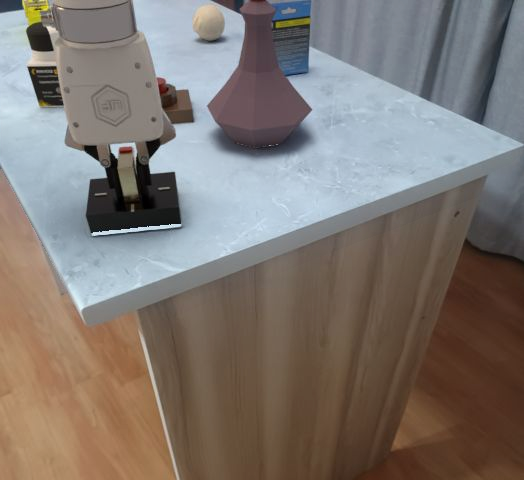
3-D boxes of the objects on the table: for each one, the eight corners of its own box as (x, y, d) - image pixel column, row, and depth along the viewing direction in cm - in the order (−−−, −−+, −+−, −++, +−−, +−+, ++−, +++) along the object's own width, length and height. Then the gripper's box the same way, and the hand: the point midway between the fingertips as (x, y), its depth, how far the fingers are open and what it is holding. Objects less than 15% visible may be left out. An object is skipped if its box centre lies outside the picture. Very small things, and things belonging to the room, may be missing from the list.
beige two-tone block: (139, 201, 63) (132, 164, 59) (124, 202, 63) (116, 165, 59) (140, 181, 66) (133, 145, 63) (125, 182, 66) (118, 146, 63)
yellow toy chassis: (30, 25, 127) (18, -16, 121) (54, 23, 128) (43, -18, 122) (32, 44, 116) (19, 0, 110) (58, 41, 118) (47, -2, 112)
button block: (127, 127, 85) (122, 102, 82) (127, 106, 91) (122, 82, 88) (193, 122, 86) (191, 97, 83) (189, 102, 92) (187, 78, 89)
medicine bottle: (39, 108, 91) (15, 30, 82) (49, 93, 96) (27, 18, 87) (80, 107, 91) (60, 30, 82) (88, 92, 96) (70, 17, 87)
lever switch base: (91, 237, 63) (85, 215, 61) (95, 199, 69) (89, 177, 67) (182, 228, 64) (178, 205, 62) (177, 191, 70) (174, 169, 68)
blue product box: (301, 66, 105) (304, -6, 96) (308, 73, 102) (312, -1, 93) (259, 72, 103) (259, -1, 94) (266, 78, 100) (266, 4, 91)
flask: (217, 113, 89) (207, -29, 74) (313, 116, 87) (321, -28, 73) (198, 156, 77) (183, -1, 63) (308, 161, 76) (317, 1, 62)
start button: (145, 97, 85) (143, 85, 83) (145, 89, 87) (143, 78, 86) (167, 95, 85) (166, 84, 84) (166, 87, 87) (165, 76, 86)
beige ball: (189, 37, 119) (186, 3, 114) (219, 33, 121) (217, 0, 116) (199, 46, 115) (195, 11, 110) (229, 41, 116) (228, 7, 112)
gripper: (6, 37, 48) (63, 213, 61) (180, 28, 49) (199, 201, 63) (19, 15, 53) (69, 182, 66) (177, 8, 54) (194, 172, 68)
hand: (132, 190), depth 64 cm, fingers closed
